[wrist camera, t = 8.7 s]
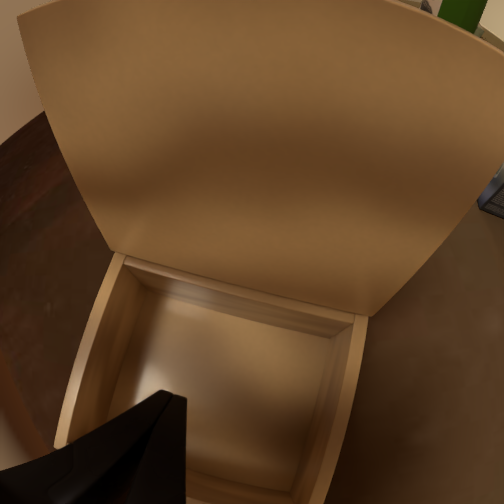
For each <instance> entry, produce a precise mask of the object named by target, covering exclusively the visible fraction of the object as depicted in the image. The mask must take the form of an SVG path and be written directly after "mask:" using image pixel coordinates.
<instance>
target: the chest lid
mask: <svg viewBox="0 0 504 504" xmlns="http://www.w3.org/2000/svg"><path fill="white" fill-rule="evenodd" d="M17 21H18V25H19V30H20V34H21V37H22V41H23V45H24V49H25V52H26V56H27V59H28V62H29V66H30V69H31V72H32V76H33V79H34V82H35V84H36V88H37V90H38V93H39V96H40V99H41V102H42V105H43V107H44V110H45V113H46V115H47V118H48V120H49V123H50V126H51V128H52V131H53V133H54V135H55V138H56V140H57V143H58V145H59V147H60V150H61V152H62V154H63V157H64V159H65V161H66V163H67V166H68V168H69V170H70V172H71V174H72V176H73V178H74V181H75V183H76V185H77V187H78V189H79V191H80V193H81V195H82V197H83V199H84V201H85V203H86V205H87V207H88V209H89V211H90V213H91V215H92V217H93V218H94V220H95V222H96V224H97V226H98V228H99V230H100V231H101V233H102V235H103V237H104V239H105V240H106V242H107V244H108V246H109V248H110V249H111V250H112V251H116V252H119V253H122V254H126V255H129V256H133V257H136V258H140V259H143V260H147V261H150V262H154V263H157V264H161V265H164V266H168V267H171V268H175V269H179V270H182V271H186V272H190V273H193V274H197V275H201V276H205V277H208V278H212V279H216V280H220V281H224V282H227V283H231V284H235V285H239V286H243V287H247V288H251V289H255V290H259V291H263V292H267V293H271V294H275V295H279V296H283V297H287V298H292V299H296V300H300V301H304V302H308V303H313V304H317V305H321V306H326V307H330V308H334V309H339V310H343V311H348V312H352V313H357V314H361V315H366V316H371V317H372V316H373V315H374V314H375V313H377V312H378V311H379V310H380V309H381V308H382V307H383V306H384V305H385V304H386V303H387V302H388V301H389V300H390V299H391V298H392V297H393V296H394V295H395V294H396V293H397V292H398V291H399V290H400V289H401V288H402V287H403V286H404V285H405V284H406V282H407V281H408V280H409V279H410V278H411V277H412V276H413V275H414V274H415V273H416V272H417V271H418V270H419V269H420V268H421V266H422V265H423V264H424V263H425V262H426V261H427V260H428V259H429V258H430V256H431V255H432V254H433V253H434V252H435V251H436V250H437V248H438V247H439V246H440V245H441V244H442V243H443V241H444V240H445V239H446V238H447V237H448V236H449V234H450V233H451V232H452V231H453V230H454V228H455V227H456V226H457V225H458V223H459V222H460V221H461V220H462V218H463V217H464V216H465V215H466V213H467V212H468V211H469V209H470V208H471V207H472V206H473V204H474V203H475V202H476V200H477V199H478V198H479V196H480V195H481V194H482V192H483V191H484V189H485V188H486V187H487V185H488V184H489V182H490V181H491V180H492V178H493V177H494V175H495V174H496V172H497V171H498V169H499V168H500V166H501V165H502V163H503V162H504V52H503V51H501V50H499V49H498V48H496V47H495V46H493V45H491V44H490V43H488V42H486V41H484V40H483V39H481V38H479V37H477V36H476V35H474V34H472V33H470V32H468V31H466V30H464V29H462V28H460V27H458V26H456V25H454V24H452V23H450V22H448V21H446V20H444V19H442V18H439V17H437V16H435V15H433V14H430V13H428V12H426V11H423V10H421V9H418V8H416V7H413V6H410V5H408V4H405V3H402V2H400V1H397V0H52V1H49V2H47V3H44V4H41V5H39V6H36V7H34V8H31V9H29V10H28V11H26V12H24V13H22V14H20V15H19V16H17Z"/></svg>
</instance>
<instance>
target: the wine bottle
mask: <svg viewBox="0 0 504 504" xmlns="http://www.w3.org/2000/svg"><path fill="white" fill-rule="evenodd" d="M487 1H488V0H422V2H421V5H420V9H421V10H423V11H426V12H428V13H430V14H433V15H435V16H437V17H439V18H442V19H444V20H446V21H448V22H450V23H452V24H454V25H456V26H458V27H460V28H462V29H464V30H466V31H468V32H470V33H472V34H474V33H475V31H476V28H477V26H478V24H479V21H480V18H481V16H482V14H483V11H484V9H485V6H486V3H487Z"/></svg>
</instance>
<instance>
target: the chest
mask: <svg viewBox="0 0 504 504" xmlns="http://www.w3.org/2000/svg"><path fill="white" fill-rule="evenodd" d="M368 318H369V316H366V315H361V314H357V313H352V312H348V311H343V310H339V309H334V308H330V307H326V306H321V305H317V304H313V303H308V302H304V301H300V300H296V299H292V298H287V297H283V296H279V295H275V294H271V293H267V292H263V291H259V290H255V289H251V288H247V287H243V286H239V285H235V284H231V283H227V282H224V281H220V280H216V279H212V278H208V277H205V276H201V275H197V274H193V273H190V272H186V271H182V270H179V269H175V268H171V267H168V266H164V265H161V264H157V263H154V262H150V261H147V260H143V259H140V258H136V257H133V256H129V255H126V254H122V253H119V252H115V254H114V256H113V259H112V261H111V263H110V266H109V268H108V270H107V273H106V275H105V278H104V280H103V283H102V285H101V288H100V290H99V293H98V295H97V298H96V301H95V303H94V306H93V309H92V311H91V314H90V317H89V320H88V323H87V325H86V328H85V331H84V334H83V337H82V340H81V343H80V346H79V350H78V353H77V356H76V359H75V362H74V366H73V369H72V373H71V376H70V380H69V383H68V387H67V391H66V394H65V398H64V402H63V406H62V411H61V415H60V419H59V424H58V428H57V433H56V438H55V443H54V447H55V448H57V449H60V448H62V447H64V446H66V445H67V444H69V443H73V441H75V440H77V439H78V438H80V437H82V436H84V435H86V434H87V433H89V432H91V431H93V430H94V429H96V428H98V427H99V426H101V425H103V424H105V423H106V422H108V421H110V420H111V419H113V418H115V417H116V416H118V415H120V414H121V413H123V412H125V411H126V410H128V409H130V408H131V407H133V406H135V405H136V404H138V403H139V402H141V401H143V400H144V399H146V398H147V397H149V396H151V395H152V394H154V393H155V392H157V391H158V390H161V389H163V390H166V391H169V392H172V393H173V394H174V395H175V394H177V395H180V396H183V397H186V398H187V400H188V401H187V431H186V504H323V503H324V500H325V497H326V495H327V492H328V489H329V486H330V483H331V480H332V477H333V474H334V470H335V467H336V464H337V461H338V457H339V454H340V450H341V447H342V443H343V440H344V436H345V432H346V429H347V425H348V421H349V417H350V413H351V408H352V404H353V400H354V395H355V391H356V386H357V381H358V376H359V371H360V366H361V361H362V355H363V350H364V344H365V338H366V332H367V325H368Z"/></svg>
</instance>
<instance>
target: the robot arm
mask: <svg viewBox="0 0 504 504" xmlns="http://www.w3.org/2000/svg"><path fill="white" fill-rule="evenodd" d="M187 401H188V400H187V398H186V397H183V396H180V395H177V394H175V395H174V394H173V393H172V392H169V391H166V390H163V389H161V390H158V391H157V392H155V393H154V394H152V395H151V396H149V397H147V398H146V399H144V400H143V401H141V402H139V403H138V404H136V405H135V406H133V407H131V408H130V409H128V410H126V411H125V412H123V413H121V414H120V415H118V416H116V417H115V418H113V419H111V420H110V421H108V422H106V423H105V424H103V425H101V426H99V427H98V428H96V429H94V430H93V431H91V432H89V433H87V434H86V435H84V436H82V437H80V438H78V439H77V440H75V441H73V443H69V444H67V445H66V446H64V447H62V448H60V449H58V450H56V451H54V452H52V453H50V454H48V455H45V456H43V457H40V458H38V459H35V460H32V461H29V462H27V463H24V464H21V465H18V466H15V467H12V468H8V469H5V470H2V471H0V504H186V431H187Z"/></svg>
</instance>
